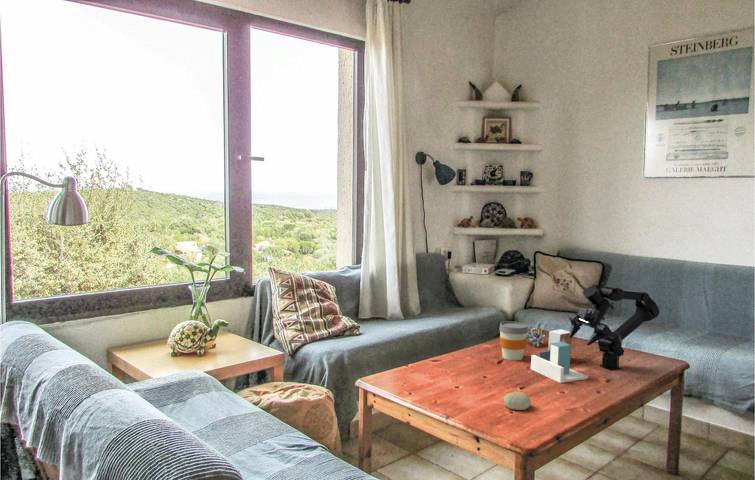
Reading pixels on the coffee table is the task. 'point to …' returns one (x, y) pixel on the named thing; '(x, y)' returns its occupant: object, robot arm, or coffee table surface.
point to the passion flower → (534, 335)
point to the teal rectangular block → (561, 355)
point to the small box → (559, 337)
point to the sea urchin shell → (517, 401)
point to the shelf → (553, 368)
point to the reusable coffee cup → (513, 339)
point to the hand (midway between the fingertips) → (578, 341)
